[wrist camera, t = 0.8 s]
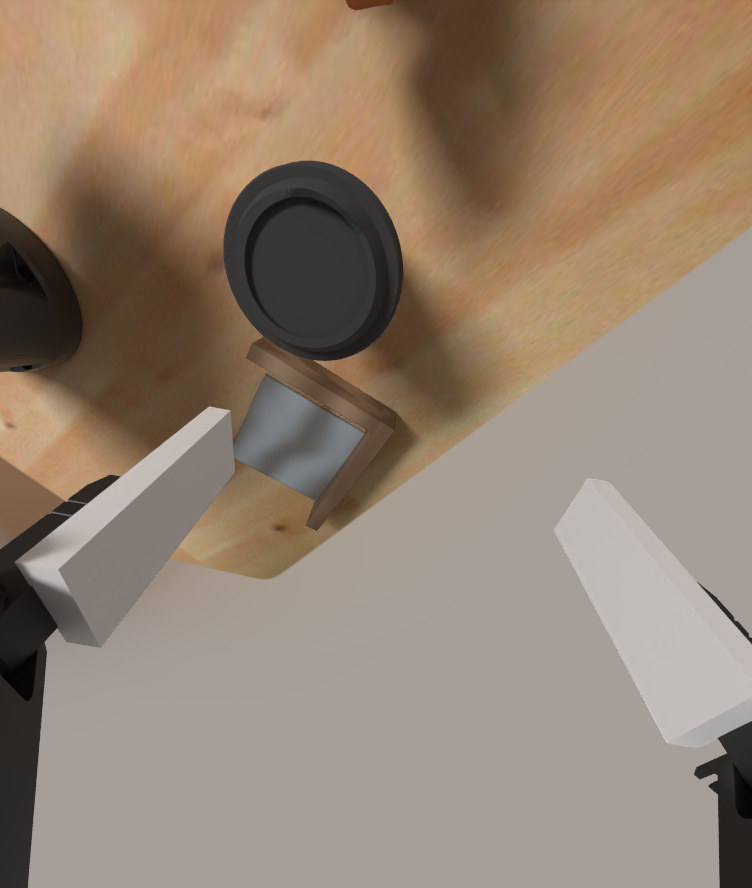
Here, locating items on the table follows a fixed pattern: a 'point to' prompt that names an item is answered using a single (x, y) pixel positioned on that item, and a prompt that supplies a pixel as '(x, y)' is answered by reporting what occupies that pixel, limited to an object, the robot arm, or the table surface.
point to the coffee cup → (313, 260)
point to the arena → (310, 429)
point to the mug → (366, 3)
